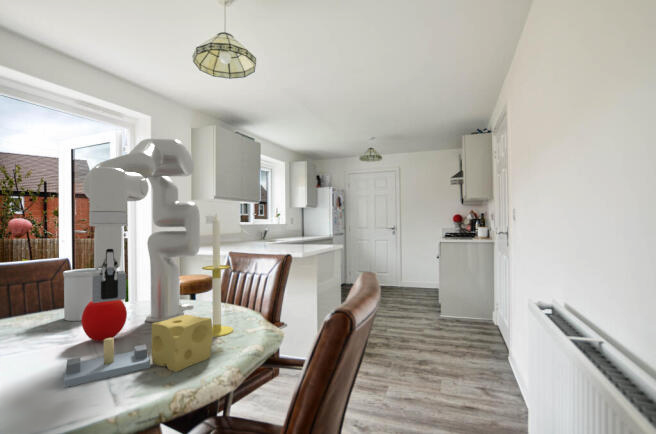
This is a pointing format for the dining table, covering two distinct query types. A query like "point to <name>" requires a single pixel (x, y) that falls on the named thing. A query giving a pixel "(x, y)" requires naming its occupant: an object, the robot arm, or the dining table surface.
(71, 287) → the utensil holder
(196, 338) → the cheese
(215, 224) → the yellow disc stand
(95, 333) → the tomato
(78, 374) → the stand
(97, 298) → the brushed steel block
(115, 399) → the dining table surface
